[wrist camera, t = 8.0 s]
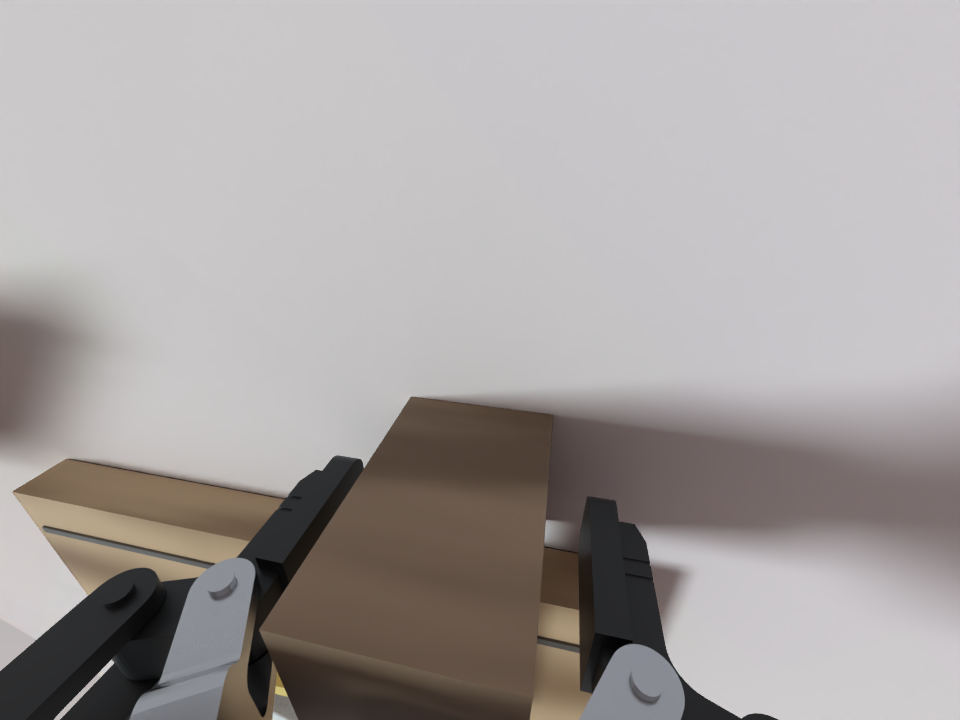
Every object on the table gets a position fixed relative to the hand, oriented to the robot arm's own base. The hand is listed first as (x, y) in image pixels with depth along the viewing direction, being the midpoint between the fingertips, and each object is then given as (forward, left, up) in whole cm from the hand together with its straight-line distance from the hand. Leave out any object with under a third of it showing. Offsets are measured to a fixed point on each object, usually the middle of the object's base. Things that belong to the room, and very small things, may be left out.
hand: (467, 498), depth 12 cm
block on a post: (+4, 0, -2) cm, 4 cm away
